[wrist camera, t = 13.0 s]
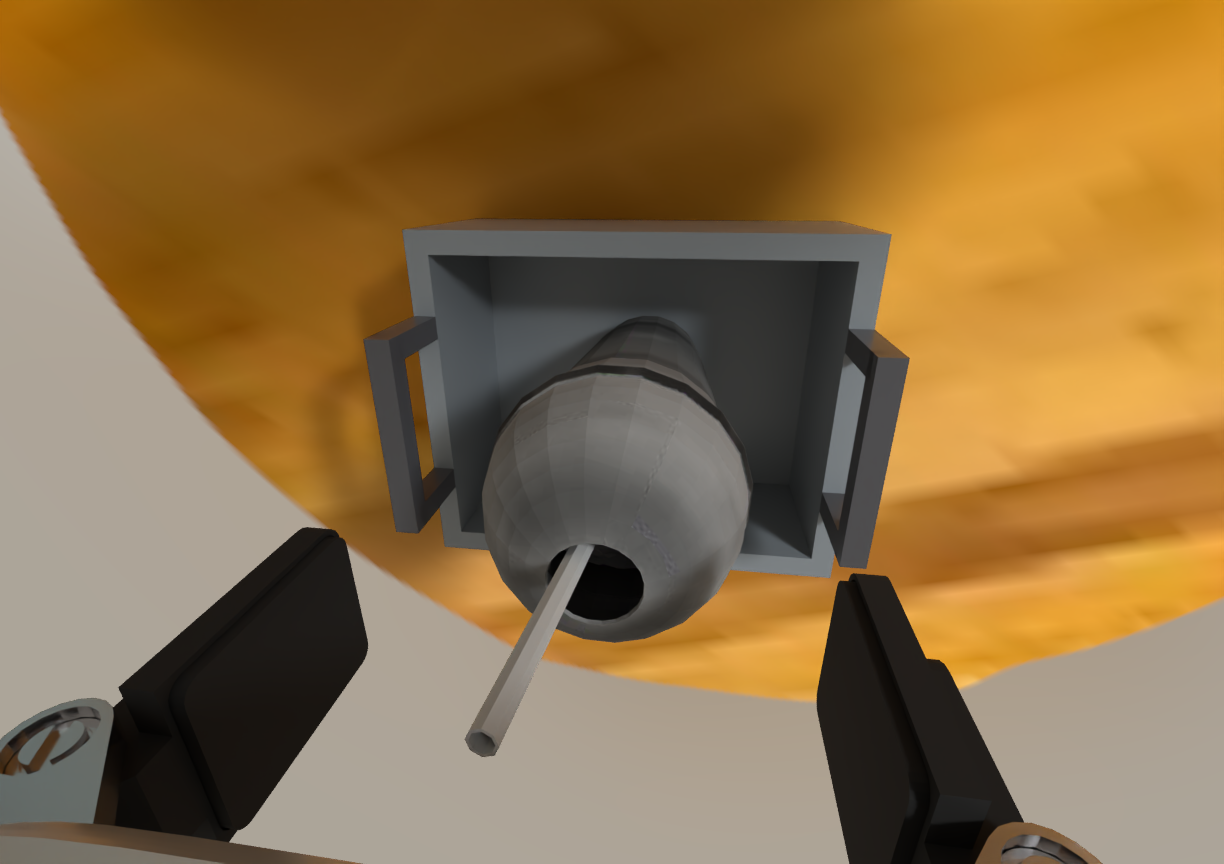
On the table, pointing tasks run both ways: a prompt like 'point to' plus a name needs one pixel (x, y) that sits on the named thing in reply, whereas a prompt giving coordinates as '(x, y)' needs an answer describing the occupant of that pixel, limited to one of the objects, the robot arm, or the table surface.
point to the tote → (698, 303)
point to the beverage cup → (611, 502)
